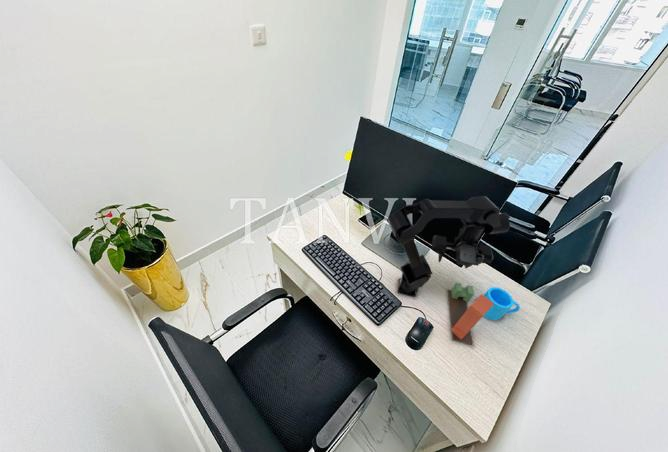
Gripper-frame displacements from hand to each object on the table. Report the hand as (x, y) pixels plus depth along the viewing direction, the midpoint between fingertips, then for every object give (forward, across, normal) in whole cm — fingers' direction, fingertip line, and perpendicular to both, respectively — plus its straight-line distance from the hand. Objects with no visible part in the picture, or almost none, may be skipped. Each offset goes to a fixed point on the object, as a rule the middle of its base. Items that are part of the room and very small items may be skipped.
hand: (452, 264), depth 91 cm
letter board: (+12, +5, -12) cm, 18 cm away
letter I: (+11, +5, -18) cm, 22 cm away
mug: (+12, +19, -7) cm, 23 cm away
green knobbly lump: (+11, +6, -4) cm, 14 cm away
